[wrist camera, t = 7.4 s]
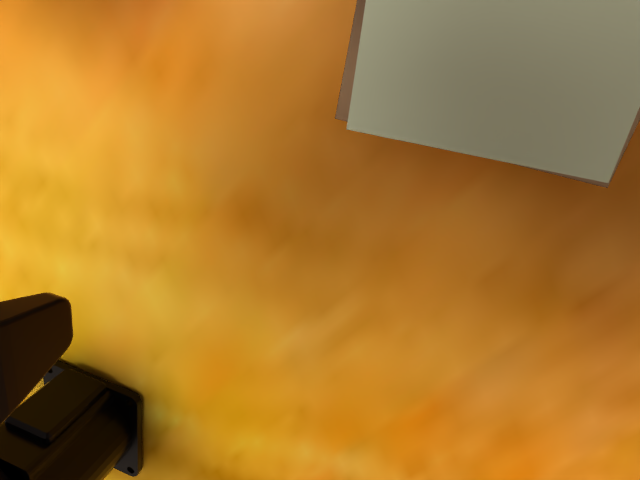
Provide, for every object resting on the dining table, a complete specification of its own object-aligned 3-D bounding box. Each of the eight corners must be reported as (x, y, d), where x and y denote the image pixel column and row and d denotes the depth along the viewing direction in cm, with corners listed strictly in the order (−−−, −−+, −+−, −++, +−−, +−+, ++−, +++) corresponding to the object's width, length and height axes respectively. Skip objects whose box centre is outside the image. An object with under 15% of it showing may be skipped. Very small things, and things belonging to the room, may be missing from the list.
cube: (573, 131, 13) (608, 183, 9) (393, 97, 14) (346, 129, 10) (652, -89, 11) (749, -161, 7) (431, -107, 12) (392, -178, 8)
